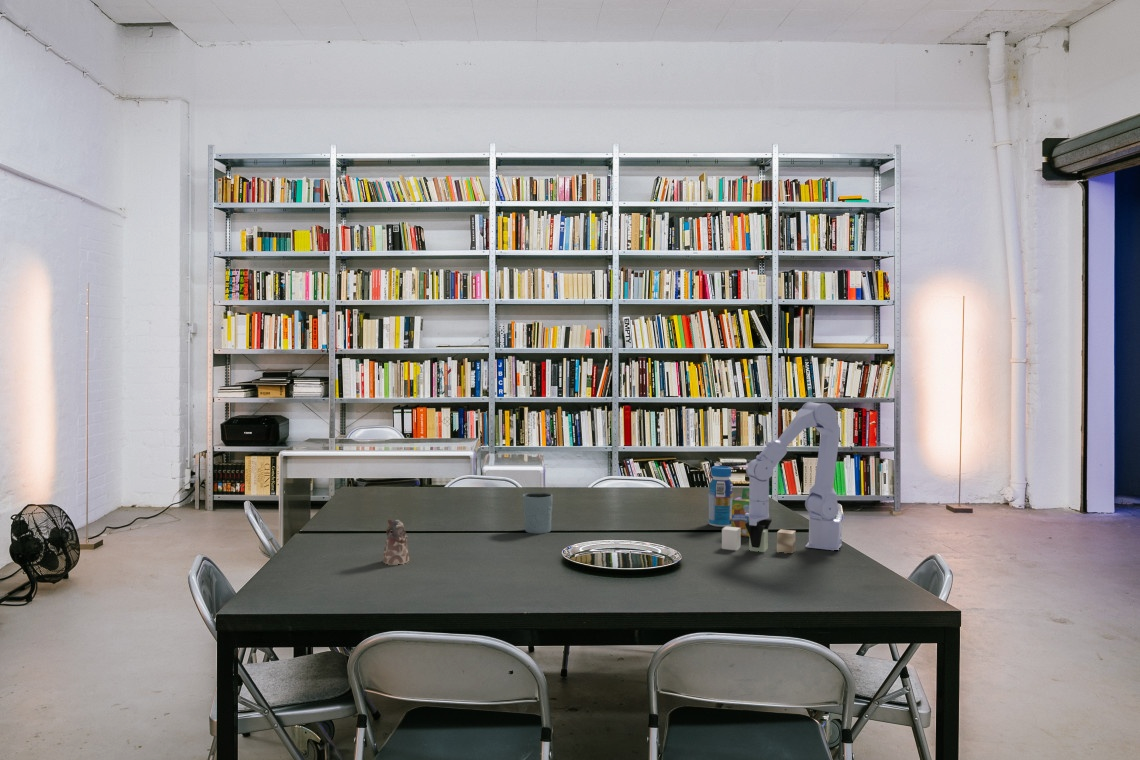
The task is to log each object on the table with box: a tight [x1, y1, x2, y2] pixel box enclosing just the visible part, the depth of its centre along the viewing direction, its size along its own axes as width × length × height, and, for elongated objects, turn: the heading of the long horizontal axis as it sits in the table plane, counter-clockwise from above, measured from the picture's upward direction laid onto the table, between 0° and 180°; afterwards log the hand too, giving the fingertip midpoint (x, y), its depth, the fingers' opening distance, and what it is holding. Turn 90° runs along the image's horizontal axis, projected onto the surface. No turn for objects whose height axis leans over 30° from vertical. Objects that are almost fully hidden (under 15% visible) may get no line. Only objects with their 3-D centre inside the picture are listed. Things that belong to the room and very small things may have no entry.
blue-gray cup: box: [522, 492, 554, 534], centre depth 254 cm, size 10×10×12 cm
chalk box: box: [730, 487, 749, 538], centre depth 250 cm, size 9×9×15 cm
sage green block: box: [748, 528, 769, 553], centre depth 230 cm, size 4×4×6 cm
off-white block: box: [721, 526, 742, 551], centre depth 232 cm, size 4×4×6 cm
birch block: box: [776, 528, 797, 554], centre depth 228 cm, size 4×4×6 cm
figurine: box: [382, 518, 410, 566], centre depth 214 cm, size 7×7×12 cm
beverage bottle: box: [708, 465, 734, 528], centre depth 264 cm, size 8×8×20 cm
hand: (758, 544), depth 230 cm, fingers open, 6 cm apart
